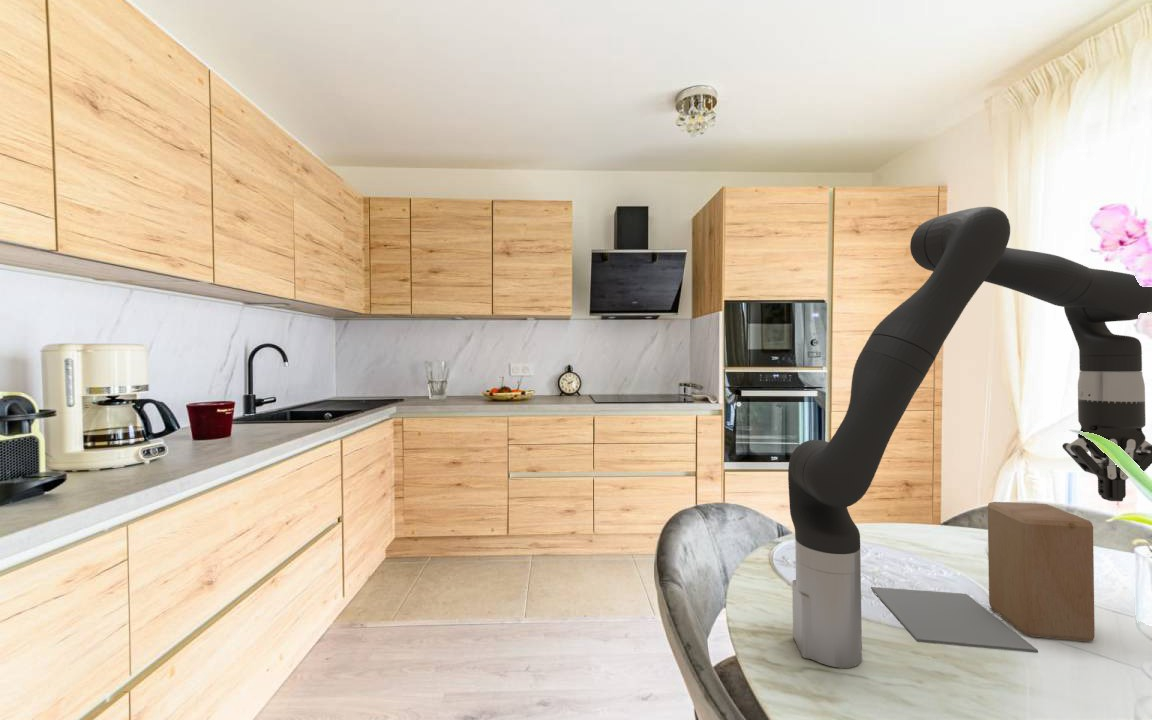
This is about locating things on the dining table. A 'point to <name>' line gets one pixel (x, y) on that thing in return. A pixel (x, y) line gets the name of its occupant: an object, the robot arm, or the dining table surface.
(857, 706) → the dining table surface
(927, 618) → the mat
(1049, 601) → the wooden block
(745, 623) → the dining table surface
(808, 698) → the dining table surface
